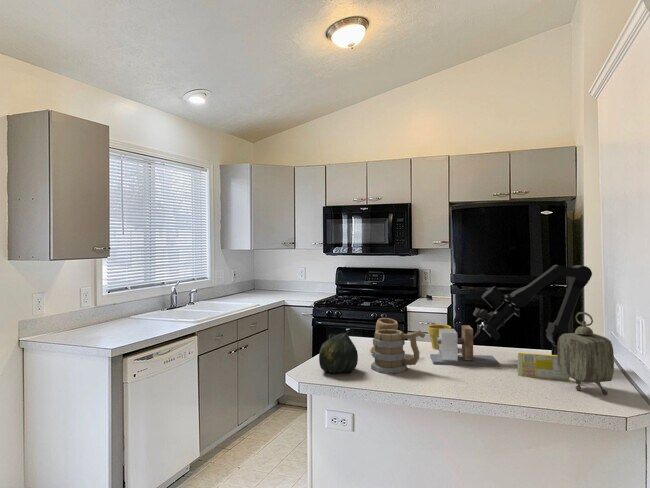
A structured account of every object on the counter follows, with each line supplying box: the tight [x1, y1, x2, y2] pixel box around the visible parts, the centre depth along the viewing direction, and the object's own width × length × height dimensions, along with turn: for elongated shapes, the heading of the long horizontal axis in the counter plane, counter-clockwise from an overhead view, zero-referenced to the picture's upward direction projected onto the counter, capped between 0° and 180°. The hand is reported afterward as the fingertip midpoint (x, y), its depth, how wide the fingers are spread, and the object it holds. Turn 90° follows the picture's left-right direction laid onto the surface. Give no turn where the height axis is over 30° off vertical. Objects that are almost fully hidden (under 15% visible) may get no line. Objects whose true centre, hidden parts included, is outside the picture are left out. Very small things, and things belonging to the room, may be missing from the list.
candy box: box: [517, 351, 570, 382], centre depth 157 cm, size 16×2×8 cm, turn 65°
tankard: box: [370, 329, 426, 374], centre depth 169 cm, size 20×13×15 cm, turn 70°
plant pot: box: [427, 324, 452, 350], centre depth 202 cm, size 10×10×10 cm
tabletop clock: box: [557, 311, 615, 396], centre depth 143 cm, size 14×9×25 cm, turn 12°
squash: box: [318, 332, 359, 374], centre depth 167 cm, size 14×15×15 cm
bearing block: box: [438, 328, 459, 361], centre depth 180 cm, size 6×9×11 cm, turn 172°
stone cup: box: [369, 317, 399, 354], centre depth 194 cm, size 15×12×15 cm
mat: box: [429, 353, 501, 367], centre depth 180 cm, size 25×12×1 cm, turn 82°
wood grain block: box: [438, 324, 474, 360], centre depth 180 cm, size 13×8×12 cm, turn 82°
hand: (471, 342), depth 179 cm, fingers closed, pressing on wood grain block
